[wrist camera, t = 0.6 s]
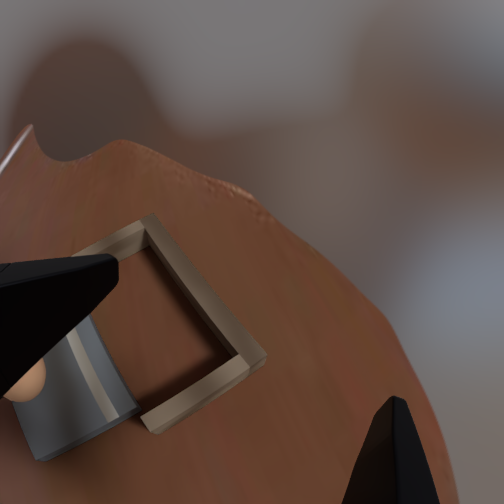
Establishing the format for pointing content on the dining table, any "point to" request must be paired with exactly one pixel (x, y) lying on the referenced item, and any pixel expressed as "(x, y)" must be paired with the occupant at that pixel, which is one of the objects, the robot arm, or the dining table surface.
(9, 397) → the ball
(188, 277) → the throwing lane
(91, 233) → the dining table surface
